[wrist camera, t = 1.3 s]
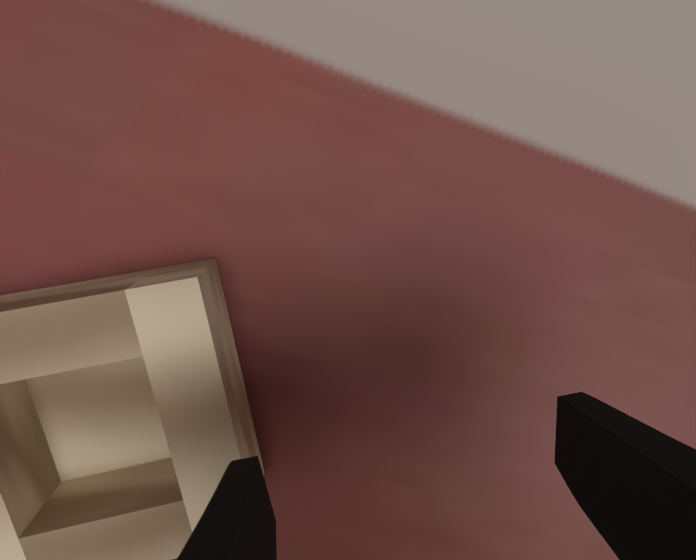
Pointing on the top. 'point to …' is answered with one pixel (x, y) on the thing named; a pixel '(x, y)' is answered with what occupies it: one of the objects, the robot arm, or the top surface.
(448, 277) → the top surface
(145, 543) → the socket block
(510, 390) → the top surface
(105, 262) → the top surface
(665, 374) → the top surface
